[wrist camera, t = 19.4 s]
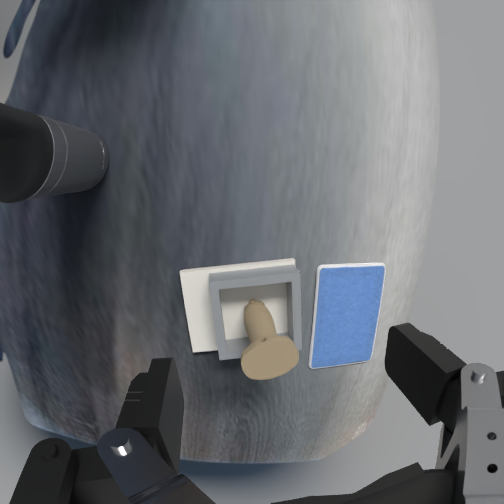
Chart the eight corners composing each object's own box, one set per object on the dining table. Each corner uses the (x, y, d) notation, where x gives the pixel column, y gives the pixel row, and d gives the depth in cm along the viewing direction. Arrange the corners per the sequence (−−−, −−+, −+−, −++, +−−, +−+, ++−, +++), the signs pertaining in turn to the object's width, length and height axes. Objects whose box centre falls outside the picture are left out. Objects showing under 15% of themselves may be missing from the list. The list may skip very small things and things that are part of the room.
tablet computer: (368, 358, 55) (371, 362, 54) (306, 367, 54) (308, 371, 52) (383, 261, 50) (387, 263, 49) (315, 263, 49) (317, 266, 48)
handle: (278, 314, 48) (302, 367, 34) (239, 327, 48) (249, 385, 34) (270, 287, 47) (292, 333, 33) (229, 300, 47) (235, 352, 32)
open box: (193, 348, 50) (191, 365, 45) (180, 269, 46) (176, 280, 41) (295, 336, 51) (303, 352, 46) (293, 258, 48) (301, 267, 43)
